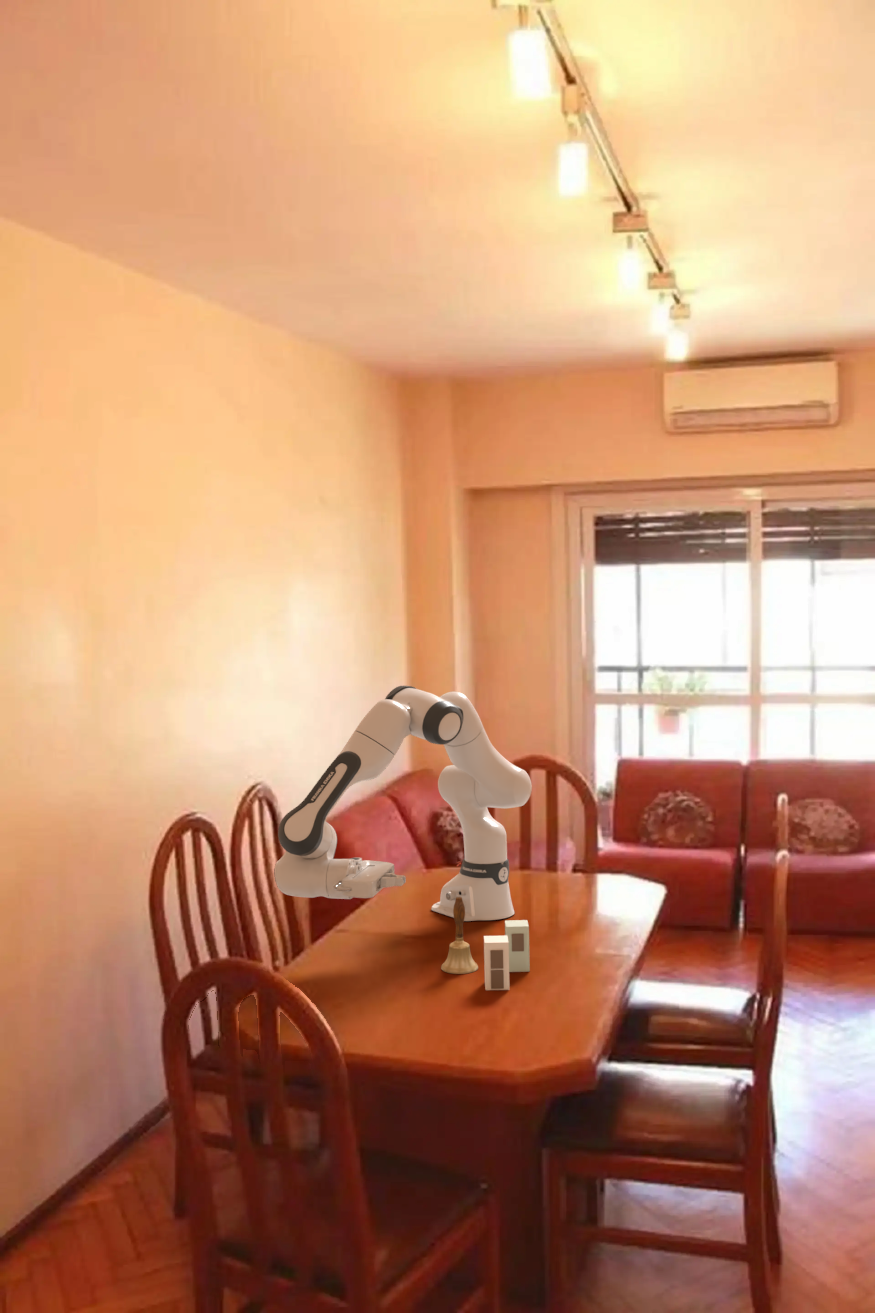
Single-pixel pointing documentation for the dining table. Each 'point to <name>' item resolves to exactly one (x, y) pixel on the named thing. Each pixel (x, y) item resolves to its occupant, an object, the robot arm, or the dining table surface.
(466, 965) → the hand bell
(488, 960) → the cream block marked
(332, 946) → the dining table surface
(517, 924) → the sage block marked
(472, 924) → the dining table surface
